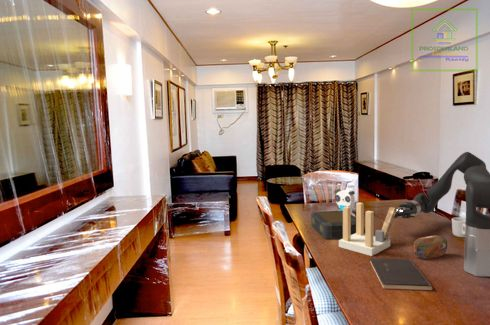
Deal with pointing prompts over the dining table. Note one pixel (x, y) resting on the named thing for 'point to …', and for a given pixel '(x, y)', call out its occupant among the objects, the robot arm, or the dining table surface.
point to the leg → (388, 221)
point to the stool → (362, 233)
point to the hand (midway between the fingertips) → (392, 216)
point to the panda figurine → (344, 199)
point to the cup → (458, 226)
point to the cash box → (331, 224)
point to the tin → (430, 247)
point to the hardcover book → (399, 274)
